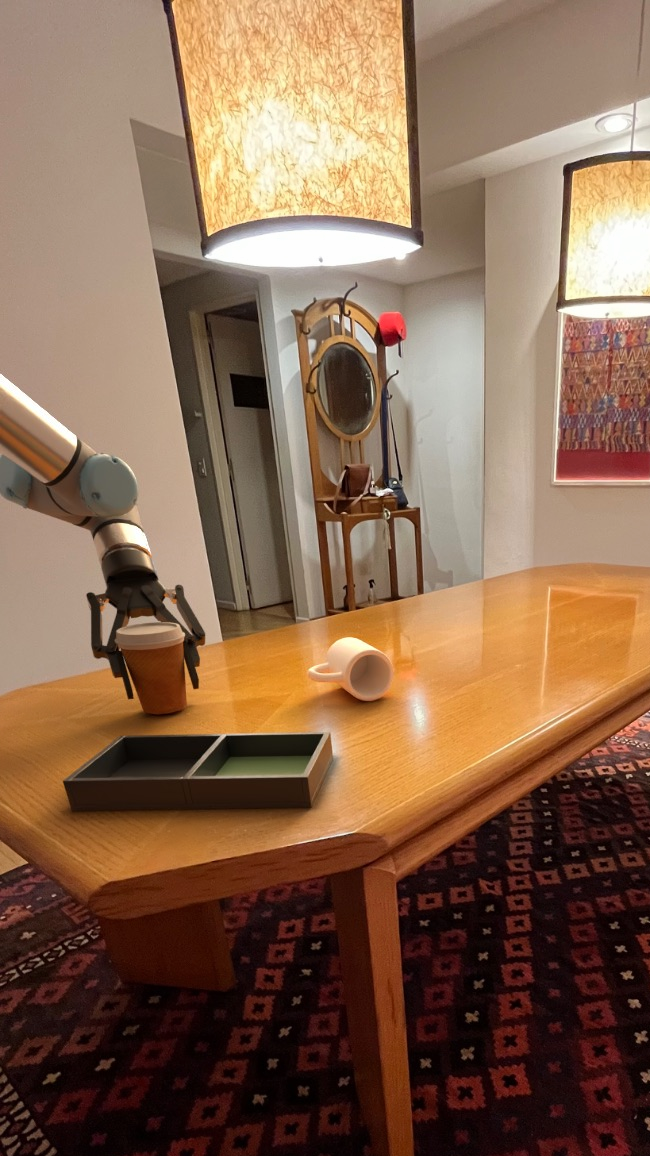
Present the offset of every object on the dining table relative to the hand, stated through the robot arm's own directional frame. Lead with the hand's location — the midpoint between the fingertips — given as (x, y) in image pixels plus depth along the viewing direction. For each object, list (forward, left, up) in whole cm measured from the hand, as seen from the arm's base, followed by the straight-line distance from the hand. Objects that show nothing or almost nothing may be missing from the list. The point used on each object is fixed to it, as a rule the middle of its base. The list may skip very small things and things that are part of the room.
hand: (163, 689), depth 98 cm
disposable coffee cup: (-2, +3, -4) cm, 5 cm away
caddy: (+14, -24, -4) cm, 28 cm away
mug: (+25, +9, -4) cm, 27 cm away
